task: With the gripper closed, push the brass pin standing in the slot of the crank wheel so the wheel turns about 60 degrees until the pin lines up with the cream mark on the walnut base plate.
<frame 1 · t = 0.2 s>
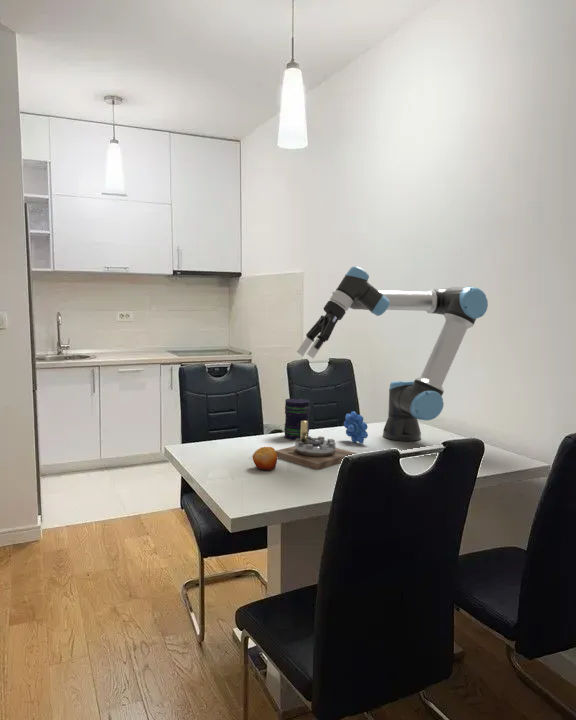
hand: (304, 355, 200), 35 cm above the table, tool tilted 35°, fingers open, 13 cm apart
crank wheel: (315, 437, 196), point 7 cm above the table, hinge at 0.0°
storage jar: (296, 437, 225), on the table
base plate: (314, 457, 197), on the table
grapes: (353, 443, 219), on the table
fruit: (265, 469, 183), on the table
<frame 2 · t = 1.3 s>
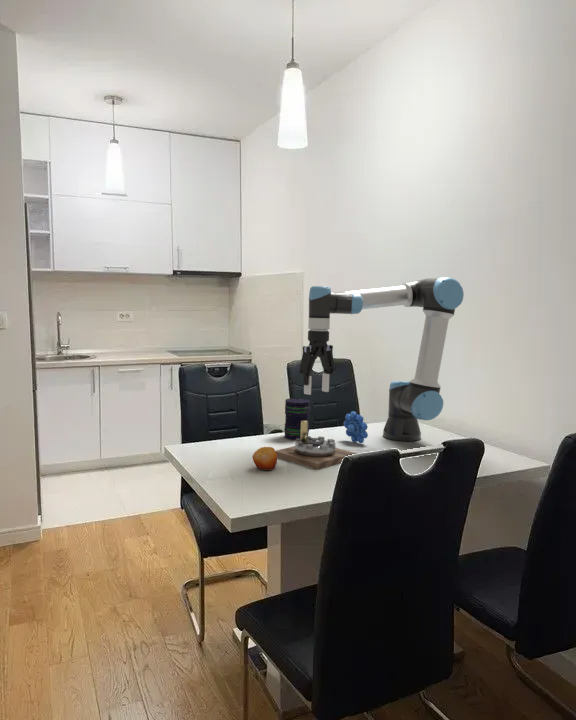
hand: (316, 392, 203), 21 cm above the table, tool pointing down, fingers open, 9 cm apart
nothing on the table moved.
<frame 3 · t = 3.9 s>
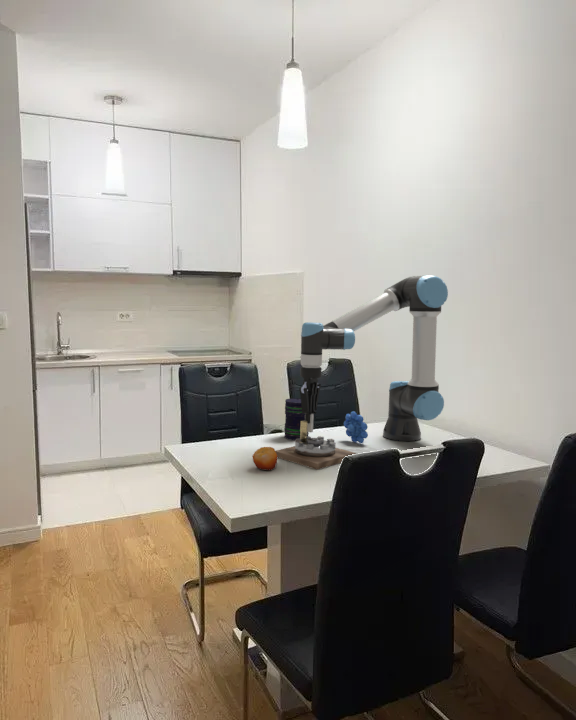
hand: (308, 431, 203), 8 cm above the table, tool pointing down, fingers closed
crank wheel: (315, 437, 196), point 7 cm above the table, hinge at 1.8°, touching gripper
everything else where it was.
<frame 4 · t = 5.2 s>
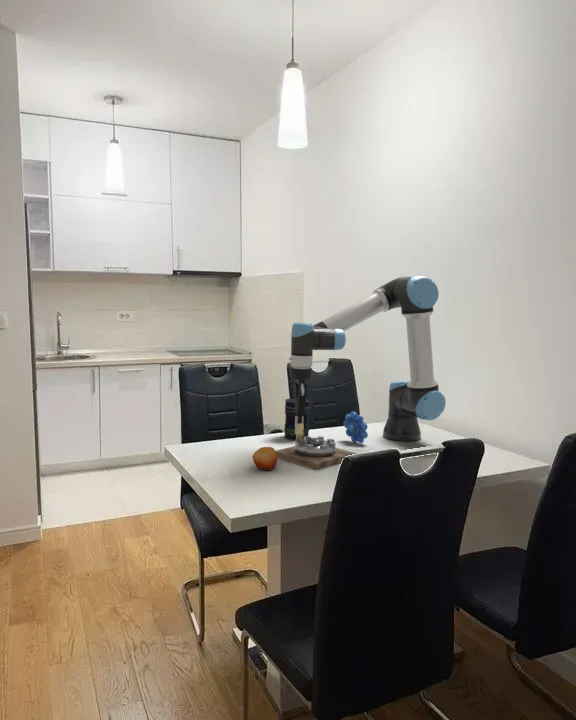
hand: (298, 433, 199), 8 cm above the table, tool pointing down, fingers closed
crank wheel: (315, 437, 196), point 7 cm above the table, hinge at 46.9°, touching gripper
everything else where it was.
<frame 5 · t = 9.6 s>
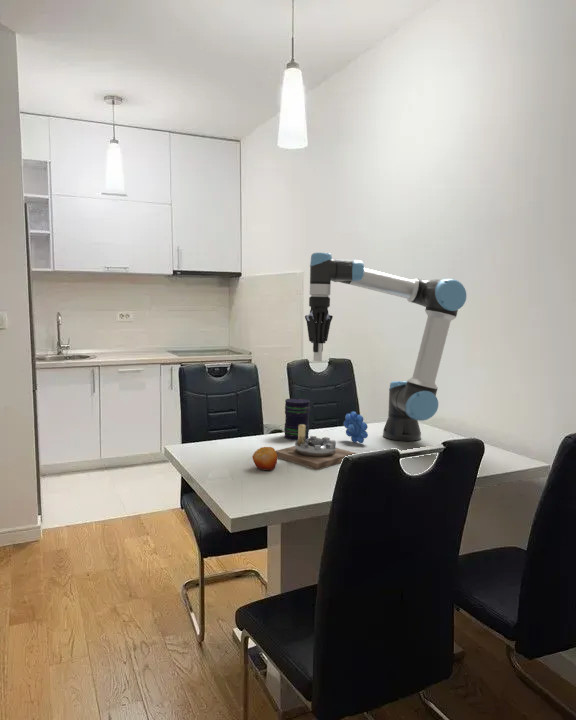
hand: (317, 360, 207), 32 cm above the table, tool pointing down, fingers closed
crank wheel: (315, 437, 196), point 7 cm above the table, hinge at 71.1°
everything else where it was.
at the end: crank wheel at +71° (first picture: +0°); storage jar moved 0.2 cm from its start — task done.
